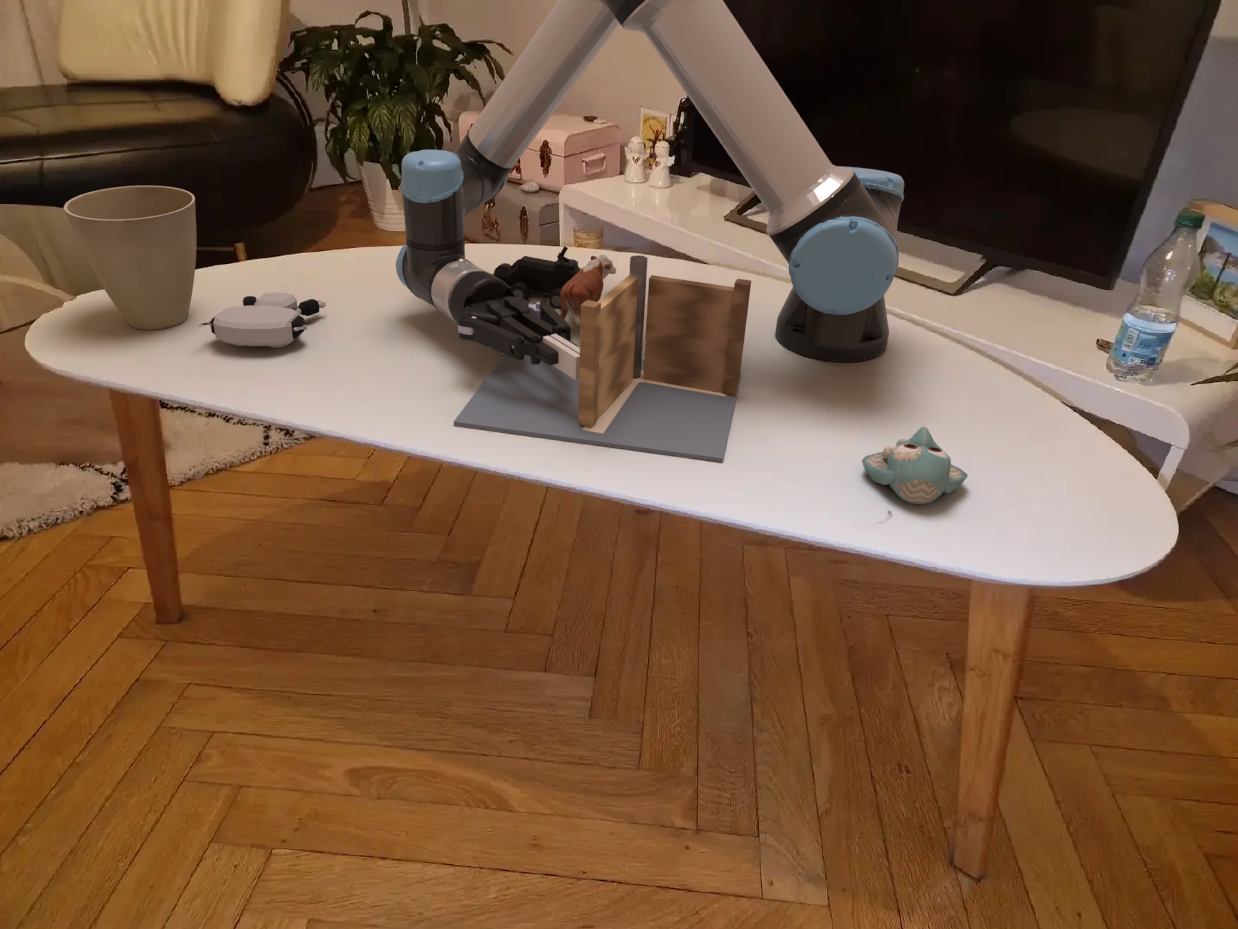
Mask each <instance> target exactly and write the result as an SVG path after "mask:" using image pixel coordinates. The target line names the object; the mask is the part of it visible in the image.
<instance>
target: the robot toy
mask: <svg viewBox="0 0 1238 929" xmlns="http://www.w3.org/2000/svg"><path fill="white" fill-rule="evenodd" d="M256 297H257V296H252V295H247V296H245V297H243V298H242V305H237V306H236V305H235V306H231V307H230V306H229V307H226V308H224V309H223V310H222V311H220V312H219V313H217V314H216V315H215V316H213V317H212V318H211V319H210V320H208V321H207V322H197V327H203V326H208V325H209V326H210V330H211V333H212V334H213V335H215V338H216V339H217V340H219V341H221V342H222V343H225V344H232V345H233V346H235V347H245V346H246V347H247V346H248V347H260V346H261V347H271V348H273V349H280V348H285V347H287V346H288V345H289V344H291V343H292V342H294V341H295V339H298V337H300V336H301V335H302V334H303V333H304V332H305V331H306V330H308V325H307V324H306V321H305V317H311V316H313V315H315V314H318V313H320V309H323V308H325V307H326V306H327V304H326V301H322V300H319V299H318V300H316V299H314V298H311V299H310V298H309V299H307V300H303V301H301V302H299V304H298V300H297V298H296V297H295V295H294V294H291V293H287V292H266V293H262V294H261V295H260V296H259V298H258V299H257V298H256ZM303 316H305V317H303Z"/></svg>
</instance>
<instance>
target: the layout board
mask: <svg viewBox="0 0 1238 929" xmlns="http://www.w3.org/2000/svg"><path fill="white" fill-rule="evenodd" d="M512 348H513V349H514V346H513V345H512ZM643 370H644V359H642V363H641V377H640V378H637V379H633V380H632V381H631V382H630V383H629V384H628V385H627V387H626V388H625V389H624V390H623V391H622V392H621V393H620V394H619V395H618V396H617V397H616V399H615V400H614V401H613V402H612V403H611V404H610V405H609V406H608V407H607V408H606V410H605V411H604V412H603V413H602V414H601V415H600V416H599V417H598V418H597V422H596V423H595V424H594V425H593V426H592V427H589V426H585V425H581V424H578V416H579V379H578V380H575V379H573V378H572V377H570V376H568V375H567V374H565V373H564V372H562V371H561V370H559V369H558V368H556V367H555V366H553V365H549V364H546V363H545V362H543V361H542V360H541V363H540V364H537V365H534V364H531V357H529V356H528V355H525V356H524V359H522V360H516V359H513V358H511V357H509V356H506V355H504V354H503V356H502V357H501V358H500V359H499V360H498V362H497V364H496V365H495V366H494V368H493V369H492V370H491V372H490V373H489V374H488V375H487V377H486V378H485V379H484V380H483V382H482V383H481V385H480V386H479V387H478V389H477V390H476V391H475V392H474V394H473V395H472V397H471V398H470V399H469V401H468V402H466V404H465V406H464V407H463V408H462V409H461V411H460V412H459V414H458V415H457V416H456V418H455V419H454V421H453V426H455V427H462V428H468V429H469V428H471V429H476V430H485V431H491V432H497V433H506V434H511V435H513V434H514V435H521V436H526V437H527V436H528V437H534V438H535V437H536V438H542V439H549V440H550V439H551V440H557V441H564V442H570V443H578V444H586V445H593V446H599V447H600V446H601V447H606V446H607V447H608V448H614V449H615V448H616V449H621V448H624V449H623V450H628V449H630V451H635V450H637V451H636V452H643V451H644V452H645V453H650V452H652V454H658V455H664V454H667V455H666V456H672V455H675V456H674V457H679V456H681V458H686V457H689V458H688V459H693V458H694V459H695V460H701V461H708V460H710V462H715V461H716V462H717V463H723V462H722V461H724V456H725V452H726V447H727V443H728V437H729V432H730V429H731V423H732V418H733V416H734V415H733V414H734V411H735V405H736V400H737V396H738V394H737V395H736V397H733V396H727V395H725V394H722V393H718V392H712V391H706V390H700V389H695V388H689V387H683V386H678V385H672V384H666V383H660V382H655V381H649V380H644V379H643ZM741 376H742V371H740V378H741ZM740 381H741V379H740V380H739V383H740ZM644 452H643V453H644Z"/></svg>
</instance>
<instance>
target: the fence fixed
mask: <svg viewBox="0 0 1238 929" xmlns="http://www.w3.org/2000/svg"><path fill="white" fill-rule="evenodd" d="M629 258H630V259H629V275H628V276H634V277H638V294H637V312H636V331H635V350H634V368H633V379H637V378H640V377H641V363H642V360H644V370H643V379H644V380H649V381H655V382H660V383H666V384H672V385H678V386H683V387H689V388H695V389H700V390H706V391H712V392H718V393H722V394H725V395H727V396H733V397H736V398H737V396H738V393H739V389H740V388H739V386H740V382H739V380H740V381H741V377H740V372H742V371H741V370H742V360H743V353H744V345H745V336H746V328H747V322H748V321H747V319H748V312H749V301H750V294H751V286H752V280H749V279H745V278H744V279H742V278H737V279H736V280H735V282H734V286H728V285H721V284H715V283H708V282H700V281H694V280H686V279H680V278H675V277H667V276H660V275H653V274H652V275H650V277H649V278H648V287H647V274H648V273H647V272H648V257H646V256H645V255H632V256H630V257H629ZM647 288H648V289H647ZM646 290H647V293H646ZM646 295H647V307H646ZM646 309H647V310H646ZM645 310H646V311H645ZM645 312H646V320H645ZM645 323H646V324H645ZM644 324H645V325H644ZM644 328H645V337H644ZM643 341H644V342H643ZM643 343H644V346H643ZM643 347H644V356H643ZM643 357H644V359H643ZM736 395H737V396H736Z"/></svg>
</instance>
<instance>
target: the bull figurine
mask: <svg viewBox="0 0 1238 929" xmlns="http://www.w3.org/2000/svg"><path fill="white" fill-rule="evenodd" d="M616 273H617V267H615V266H614V264H613V260H611V259H610V258H609V257H608V256H607V255H605V254H600V255H599V256H598V257H597V256H595V255H591V256H590V261H588V263H586V265H585V266H583V267H581V268H580V271H579V272H578V273H577V274H576V275H575V276H574V277H573V278H572V279H571V280H569V281H568V282H567V283H566V284H565V285H564V286H563V288H562V289H561V292H560V303H561V309H560V310H561V313H560V314H559V315H560V316H561V317H562V318H563V319H564V320H565V321H566V318H567V314H568V312H569V314H570V315H571V316H573V318H574V321H575V324H576V325H577V326H578V327H580V317H581V304H583V303H584V302H585V301H586V300H590V301H595V302H598V301H599V300H600V299H601V297H602V293H603V291H604V280H605V279H606V277H608V275H616Z"/></svg>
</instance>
